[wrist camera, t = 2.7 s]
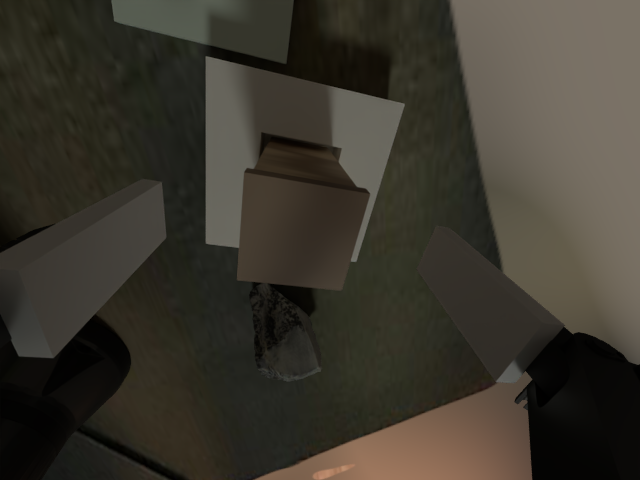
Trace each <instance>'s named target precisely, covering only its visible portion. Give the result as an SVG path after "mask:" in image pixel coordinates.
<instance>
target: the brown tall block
mask: <svg viewBox="0 0 640 480" xmlns="http://www.w3.org/2000/svg"><path fill="white" fill-rule="evenodd" d="M369 197H370V193H369V191H368V190H367V189H366V188H360V187H357V186H356V185H355V184H354V182H353V181H352V180H351V178H350V177H349V176H348V174H347V173H346V172H345V170H344V169H343V168H342V166H341V165H340V164H339V162H338V161H337V160H336V158H335V157H334V156H333V154H332V153H331V152H330V150H329V149H328V148H327V147H322V146H317V145H312V144H307V143H302V142H297V141H292V140H287V139H282V138H277V137H271V139H270V141H269V143H268V144H267V146H266V148H265V150H264V151H263V153H262V155H261V157H260V159H259V160H258V162H257V164H256V166H255V168H254V169H251V168H247V169H246V170H245V172H244V180H243V195H242V210H241V225H240V240H239V256H238V271H237V280H240V281H250V282H260V283H270V284H280V285H290V286H300V287H310V288H320V289H330V290H340V291H342V288H343V285H344V282H345V278H346V275H347V271H348V268H349V265H350V261H351V258H352V255H353V251H354V248H355V245H356V241H357V238H358V234H359V231H360V228H361V224H362V221H363V218H364V214H365V211H366V208H367V204H368V201H369Z"/></svg>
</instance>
